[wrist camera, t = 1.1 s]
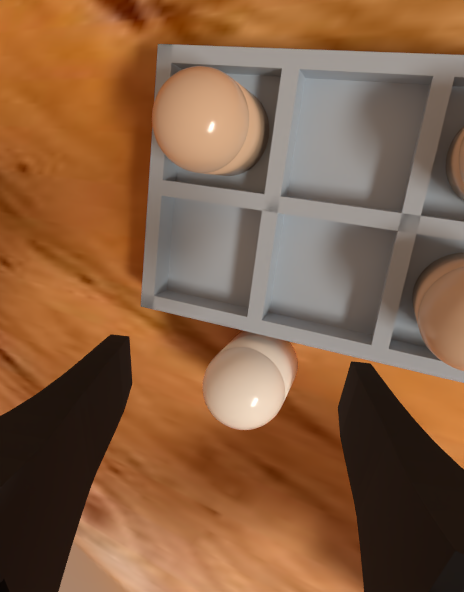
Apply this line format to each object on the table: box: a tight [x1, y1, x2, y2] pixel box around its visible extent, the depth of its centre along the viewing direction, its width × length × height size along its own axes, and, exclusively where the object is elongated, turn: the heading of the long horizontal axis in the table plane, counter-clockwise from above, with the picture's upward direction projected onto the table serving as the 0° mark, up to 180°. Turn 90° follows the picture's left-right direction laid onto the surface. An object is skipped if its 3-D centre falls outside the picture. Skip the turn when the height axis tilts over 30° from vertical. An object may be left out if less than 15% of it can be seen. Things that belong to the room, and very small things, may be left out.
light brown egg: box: [203, 331, 298, 430], centre depth 23 cm, size 4×4×6 cm
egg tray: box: [141, 44, 464, 383], centre depth 21 cm, size 14×20×3 cm
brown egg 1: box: [152, 66, 269, 176], centre depth 20 cm, size 4×4×6 cm
